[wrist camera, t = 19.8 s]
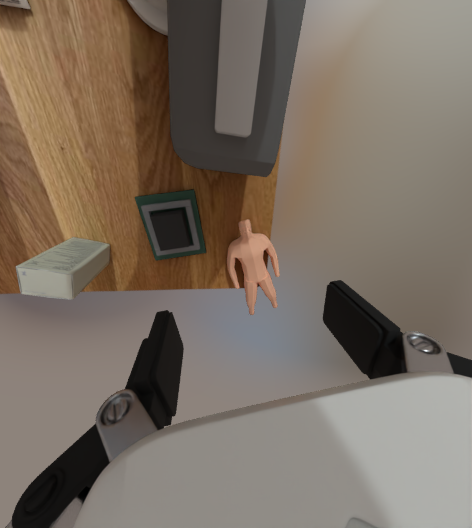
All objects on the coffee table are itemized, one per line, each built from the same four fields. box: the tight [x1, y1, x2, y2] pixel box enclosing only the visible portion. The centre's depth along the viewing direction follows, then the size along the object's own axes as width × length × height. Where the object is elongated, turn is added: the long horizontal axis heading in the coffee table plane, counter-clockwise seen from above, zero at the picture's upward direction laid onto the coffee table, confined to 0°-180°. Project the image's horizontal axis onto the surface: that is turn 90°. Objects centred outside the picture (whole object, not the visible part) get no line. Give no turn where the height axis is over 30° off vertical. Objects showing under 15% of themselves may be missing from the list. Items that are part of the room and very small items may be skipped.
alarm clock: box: [167, 0, 306, 177], centre depth 23 cm, size 16×11×16 cm
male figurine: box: [227, 219, 280, 315], centre depth 41 cm, size 11×5×25 cm
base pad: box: [135, 189, 206, 260], centre depth 35 cm, size 12×10×2 cm
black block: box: [150, 209, 190, 251], centre depth 34 cm, size 6×5×4 cm
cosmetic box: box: [16, 237, 110, 300], centre depth 31 cm, size 6×4×12 cm
